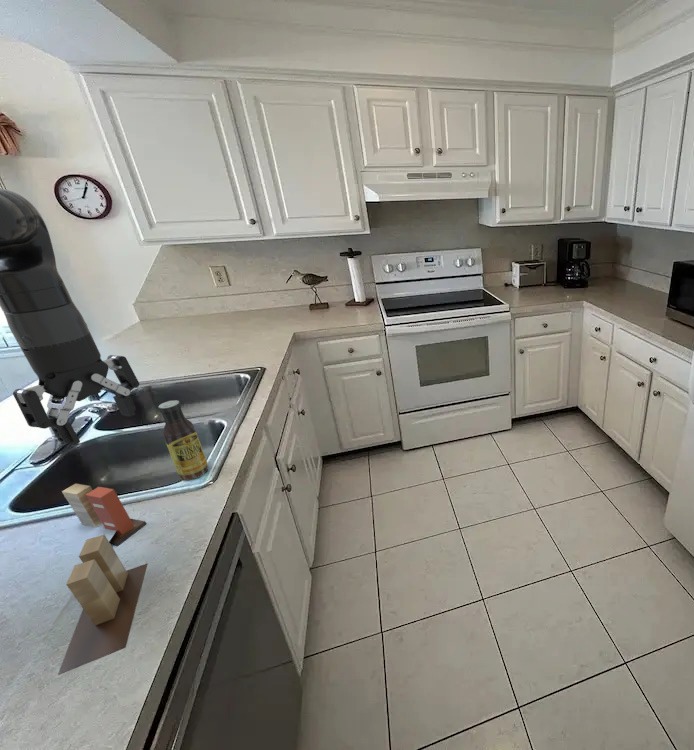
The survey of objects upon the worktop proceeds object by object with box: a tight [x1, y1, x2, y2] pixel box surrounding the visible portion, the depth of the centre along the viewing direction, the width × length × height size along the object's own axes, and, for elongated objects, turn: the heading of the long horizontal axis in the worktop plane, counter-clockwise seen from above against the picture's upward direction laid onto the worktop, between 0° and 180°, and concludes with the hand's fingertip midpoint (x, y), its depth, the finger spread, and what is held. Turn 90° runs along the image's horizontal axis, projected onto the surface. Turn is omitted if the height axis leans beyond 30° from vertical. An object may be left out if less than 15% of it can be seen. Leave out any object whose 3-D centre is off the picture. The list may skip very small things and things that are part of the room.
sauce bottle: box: [158, 399, 209, 481], centre depth 99 cm, size 6×6×20 cm
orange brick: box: [86, 486, 134, 535], centre depth 84 cm, size 3×4×10 cm, turn 77°
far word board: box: [61, 483, 147, 547], centre depth 85 cm, size 6×12×11 cm, turn 77°
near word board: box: [57, 534, 148, 676], centre depth 67 cm, size 8×18×11 cm, turn 29°
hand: (102, 428), depth 68 cm, fingers open, 8 cm apart
